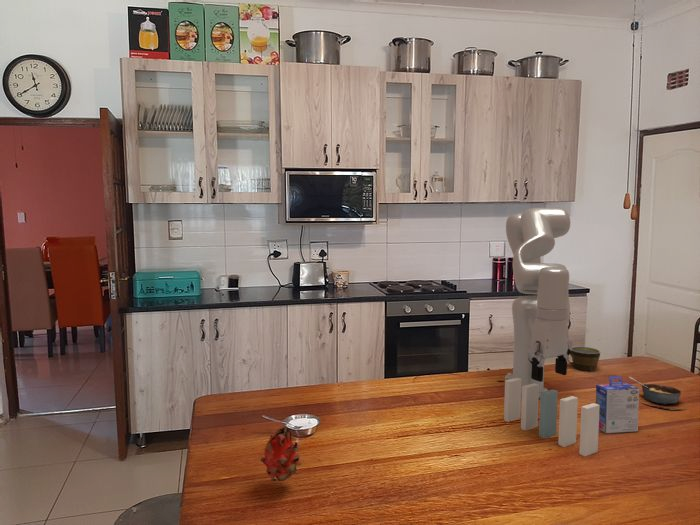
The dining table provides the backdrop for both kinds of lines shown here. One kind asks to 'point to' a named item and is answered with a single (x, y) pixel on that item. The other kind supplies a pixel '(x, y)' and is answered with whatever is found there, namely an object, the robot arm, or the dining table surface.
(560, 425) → the domino
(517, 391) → the domino
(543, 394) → the domino
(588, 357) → the ceramic cup
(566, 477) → the dining table surface
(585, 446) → the domino
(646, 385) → the soup bowl
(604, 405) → the ink cartridge box
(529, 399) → the domino
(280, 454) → the dragon fruit
